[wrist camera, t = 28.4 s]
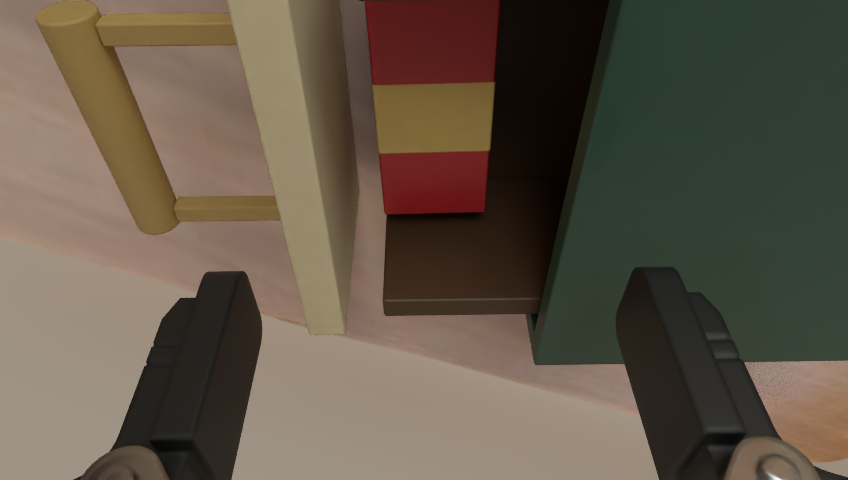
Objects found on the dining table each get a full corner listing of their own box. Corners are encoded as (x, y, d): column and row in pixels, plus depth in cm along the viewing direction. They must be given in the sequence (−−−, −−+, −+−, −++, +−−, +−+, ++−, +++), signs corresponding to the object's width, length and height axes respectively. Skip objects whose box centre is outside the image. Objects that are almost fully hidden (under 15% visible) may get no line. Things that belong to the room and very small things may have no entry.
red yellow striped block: (478, 158, 22) (485, 213, 19) (386, 160, 22) (384, 216, 20) (491, -56, 16) (503, -12, 14) (369, -52, 16) (362, -8, 14)
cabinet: (502, 185, 25) (534, 366, 19) (550, -203, 16) (648, -103, 9) (835, 181, 25) (977, 359, 19) (1088, -207, 16) (1554, -110, 9)
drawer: (198, 192, 24) (140, 338, 19) (66, -165, 15) (-110, -73, 10) (652, 187, 24) (717, 329, 19) (782, -170, 15) (967, -83, 10)
